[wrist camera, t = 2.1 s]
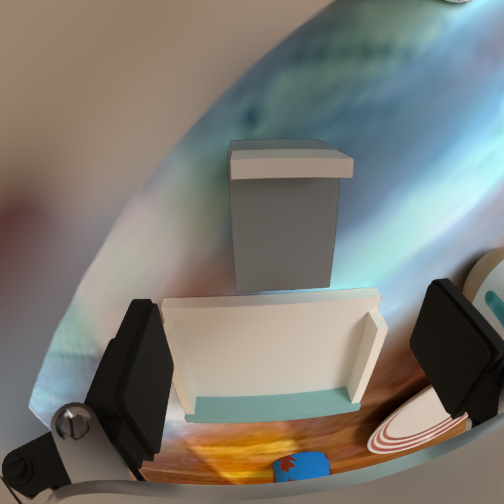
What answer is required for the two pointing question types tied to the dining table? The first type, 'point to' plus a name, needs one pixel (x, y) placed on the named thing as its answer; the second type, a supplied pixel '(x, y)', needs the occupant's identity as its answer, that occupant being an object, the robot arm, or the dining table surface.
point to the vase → (488, 288)
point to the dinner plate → (412, 424)
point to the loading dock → (273, 353)
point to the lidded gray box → (284, 211)
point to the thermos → (301, 467)
